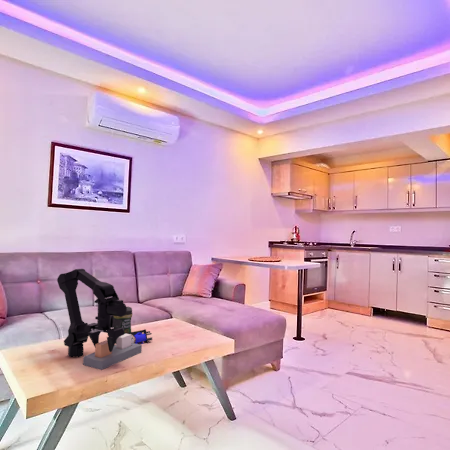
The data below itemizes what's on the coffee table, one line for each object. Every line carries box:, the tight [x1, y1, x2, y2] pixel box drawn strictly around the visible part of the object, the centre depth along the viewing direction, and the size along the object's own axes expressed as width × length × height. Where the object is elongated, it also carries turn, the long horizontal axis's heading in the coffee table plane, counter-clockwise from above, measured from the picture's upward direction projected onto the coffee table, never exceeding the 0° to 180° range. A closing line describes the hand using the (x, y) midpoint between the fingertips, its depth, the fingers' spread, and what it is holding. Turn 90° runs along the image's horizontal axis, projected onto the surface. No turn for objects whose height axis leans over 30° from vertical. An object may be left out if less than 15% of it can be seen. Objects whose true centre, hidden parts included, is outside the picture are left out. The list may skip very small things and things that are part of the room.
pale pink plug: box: [115, 334, 131, 350], centre depth 157 cm, size 4×6×8 cm, turn 152°
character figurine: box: [125, 328, 153, 345], centre depth 173 cm, size 8×7×15 cm
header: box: [82, 343, 143, 371], centre depth 151 cm, size 11×24×4 cm, turn 152°
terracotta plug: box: [94, 339, 112, 358], centre depth 146 cm, size 4×6×8 cm, turn 152°
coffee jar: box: [113, 306, 133, 345], centre depth 176 cm, size 10×8×19 cm
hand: (103, 349), depth 146 cm, fingers open, 8 cm apart
